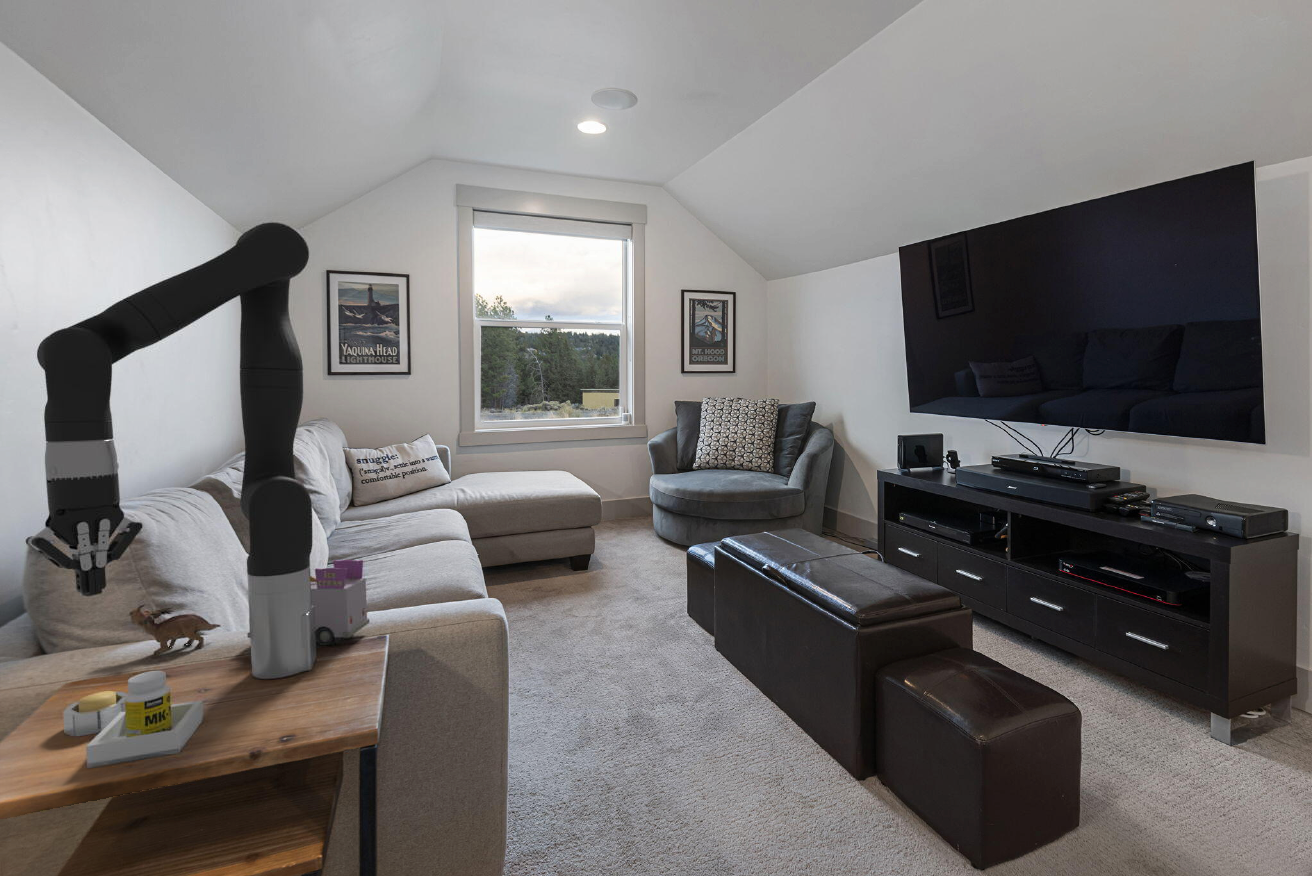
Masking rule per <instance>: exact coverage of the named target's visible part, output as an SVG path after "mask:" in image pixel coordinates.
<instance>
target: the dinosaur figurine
mask: <svg viewBox="0 0 1312 876" xmlns="http://www.w3.org/2000/svg"><path fill="white" fill-rule="evenodd" d="M143 607H145V604H141V605H139V606H138V607H137V608H136V609H133V610H131V611H129V614H128V616H129V617H130V620H131V621H130V623H131V624H132V625H136V626H139V627H140V628H142V629H143V630H144V631H145V633H146V634H148V635H150V636H152V637H154V639H155V641H156V642H157V643H159V646H160V647H159V648H157V649H156V650H154V651H153V654H152V655H151V656H148V657H147V659H148V660H153V659H156V658H157V657H158V656H159V654H160V653H162V652H164V651H167V650H169V649H171V648H173V647H174V646H176V645H175V643H176V641H177V640H180V639H181V640H182V639H186V638H187V639H188V641H187V643H186V642H185V643H183V644H184V645H183V646H187V645H186V644H189V645H191V643H192V644H193V643H195V642H194V641H197V642H198V643H197V644H196V646H195V647H194V649H195V650H198V649H199V650H200V649H202V648H203V647H204V644H205V642H204V641H205V640H204V639H205V638H204V636H201V635H200V634H199V633H198V632H202V631H203V632H204V631H205V632H206V631H207V632H209V631H213V630H214V629H216V628H221V627H222V625H221V624H219V623H218V624H215V623H210V622H209V621H208V620H206V618H204V617H202V616H201V615H197V614H195V613H187V614H186V613H185V614H177V615H174V616H171V617H169V618H166V619H165V620H163V621H161V622H159V623H156V622H155V619H157V618H160V617H161V616H162V615H164V616H165V615H172V614H173V613H174V610H172V607H165V608H160V609H157V608H155V611H154V610H151V612H150V611H149V610H145V611H142V610H141V609H142V608H143ZM169 641H170V642H169ZM168 642H169V645H168ZM168 646H169V647H168ZM172 646H173V647H172ZM170 647H171V648H170ZM168 648H169V649H168Z"/></svg>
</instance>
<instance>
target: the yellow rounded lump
mask: <svg viewBox="0 0 1312 876" xmlns="http://www.w3.org/2000/svg"><path fill="white" fill-rule="evenodd" d="M116 692H117V691H113V690H104V691H100V692H96V693H92V694H89V695H86V696H83V697H81V698H80V699H79V700H78V701H79V702H78V703H79V712H86V711H93V710H99V709H102V708H104V707H107V706H110V705H113V704H116Z"/></svg>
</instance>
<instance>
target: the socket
mask: <svg viewBox="0 0 1312 876" xmlns="http://www.w3.org/2000/svg"><path fill="white" fill-rule="evenodd" d="M115 692H116V704H113V705H110V706H107V707H104V708H102V709H99V710H93V711H86V712H79V703H78V702H79V700H78V701H77V700H76V701H75V702H73V703H71V704H70V705H69V706H68V707H66V708H65V709H64V710H63V711H62V716H63V731H64V734H66V735H68V736H71V737H73V738H74V737H76V738H77V737H82V736H89V735H94V734H95V735H96V734H99V733H100V732H101V731H102V730H103V729H104V728H105V727H106V726H107V725H108V724H109V723H110V722H111V721H112V720H113V719H114V718H115V717H116V716H117V715H118V714H119V713H120V712H125V697H126V695H127V694H128V693H126V692H124V691H115Z"/></svg>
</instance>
